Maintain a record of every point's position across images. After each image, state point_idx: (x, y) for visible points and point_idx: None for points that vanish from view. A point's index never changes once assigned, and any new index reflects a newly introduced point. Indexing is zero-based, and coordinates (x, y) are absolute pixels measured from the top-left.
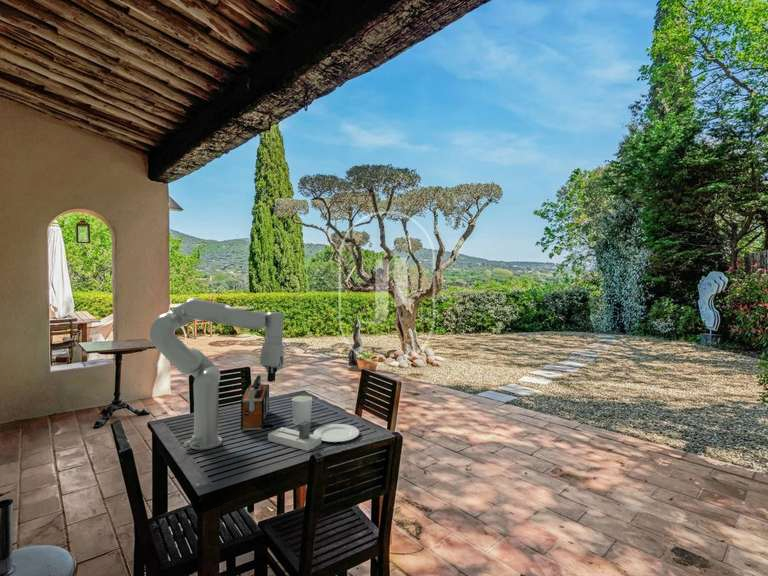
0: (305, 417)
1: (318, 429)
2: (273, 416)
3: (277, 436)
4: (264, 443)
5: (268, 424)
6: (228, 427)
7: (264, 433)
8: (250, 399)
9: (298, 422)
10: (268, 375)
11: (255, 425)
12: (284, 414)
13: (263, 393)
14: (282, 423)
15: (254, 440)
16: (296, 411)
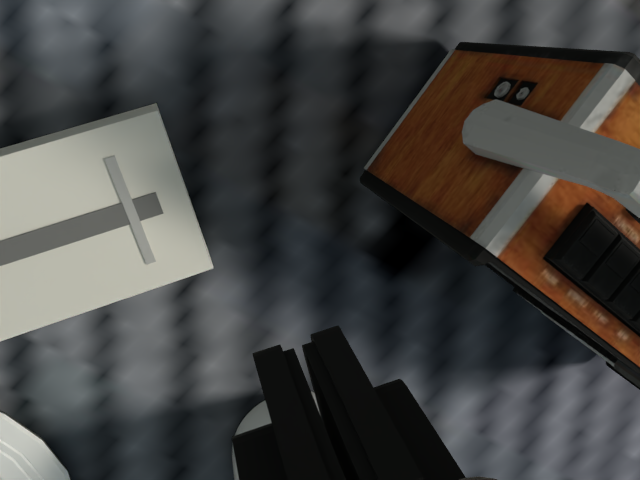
0: (237, 477)
1: (33, 466)
2: (517, 348)
3: (49, 141)
4: (122, 52)
5: (427, 259)
6: (587, 19)
7: (303, 156)
8: (554, 129)
9: (262, 415)
10: (352, 426)
11: (403, 134)
12: (493, 415)
13: (621, 343)
14: (373, 339)
15: (234, 26)
16: None
